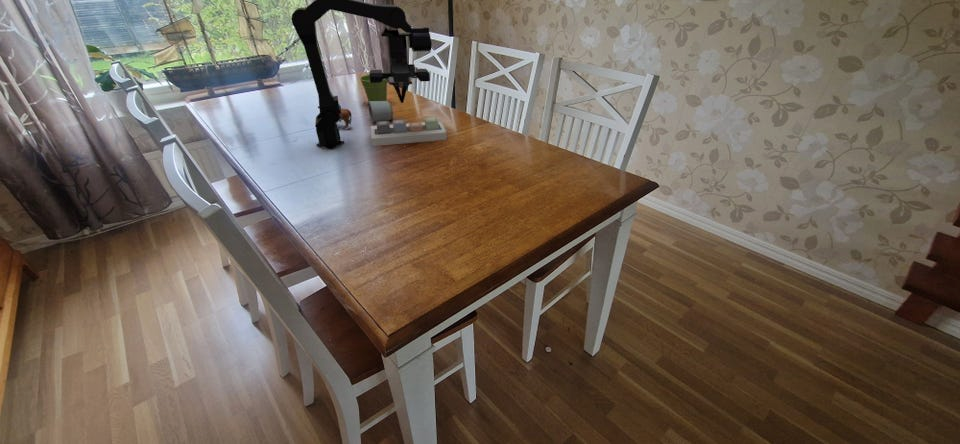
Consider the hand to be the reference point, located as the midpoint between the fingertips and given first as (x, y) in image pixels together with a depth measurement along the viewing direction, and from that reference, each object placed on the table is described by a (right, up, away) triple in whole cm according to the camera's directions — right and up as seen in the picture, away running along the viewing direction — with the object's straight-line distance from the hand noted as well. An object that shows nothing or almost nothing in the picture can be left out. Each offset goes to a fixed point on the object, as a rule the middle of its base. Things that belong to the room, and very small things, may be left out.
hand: (401, 102), depth 125 cm
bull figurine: (-27, -5, +14) cm, 31 cm away
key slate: (-2, -8, +5) cm, 10 cm away
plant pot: (-18, +11, +37) cm, 43 cm away
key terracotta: (+4, -8, +7) cm, 12 cm away
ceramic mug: (-13, 0, +21) cm, 25 cm away
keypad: (+1, -10, +7) cm, 12 cm away
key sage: (+9, -7, +7) cm, 13 cm away
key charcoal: (-7, -9, +4) cm, 12 cm away
